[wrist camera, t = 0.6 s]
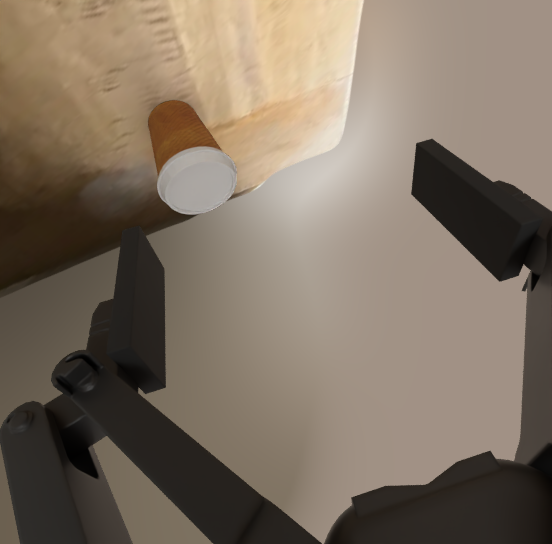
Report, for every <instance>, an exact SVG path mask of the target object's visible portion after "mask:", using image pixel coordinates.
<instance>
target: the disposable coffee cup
mask: <svg viewBox="0 0 552 544" xmlns="http://www.w3.org/2000/svg"><path fill="white" fill-rule="evenodd" d="M148 126H149V130H150V136H151V141H152V147H153V151H154V157H155V162H156V167H157V172H158V181H157V189H158V193H159V195H160V197H161V199H162V200H163V201H164V202H165V203H167V204H168V205H169V206H170V207H171V208H172V209H173V210H175V211H177V212H179V213H183V214H201V213H205V212H208V211H211V210H213V209H215V208H217V207H219V206H220V205H222V204H223V203H224V202H226V201H227V200H228V199H229V198H230V197H231V195H232V194H233V192H234V190H235V187H236V183H237V179H236V176H237V170H236V166H235V163H234V162H233V160H232V159H231V158H230V157H229V156H228V155H227V154H225V153H224V152H223V151H222V150H221V148H220V147H219V145H218V144H217V143H216V141H215V140H214V138H213V137H212V135H211V134H210V132H209V131H208V130H207V128H206V127H205V125H204V124H203V123H202V121H201V120H200V118H199V117H198V115H197V114H196V112H195V111H194V109H193V108H192V107H191V106H190V105H188V104H187V103H185V102H182V101H176V100H172V101H167V102H164V103H162V104H160V105H158V106H157V107H156V108H155V109H154V110H153V111H152V112H151V114H150V116H149V120H148Z"/></svg>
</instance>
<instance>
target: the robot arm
mask: <svg viewBox="0 0 552 544" xmlns="http://www.w3.org/2000/svg"><path fill="white" fill-rule="evenodd" d="M411 194H412V195H413V196H414V197H415V198H416V199H417V200H418V201H419V202H420V203H421V204H422V205H423V206H424V207H425V208H426V209H427V210H428V211H429V212H430V213H431V214H432V215H433V216H434V217H435V218H436V219H437V220H438V221H439V222H440V223H441V224H442V225H443V226H444V227H445V228H446V229H447V230H448V231H449V232H450V233H451V234H452V235H453V236H454V237H455V238H456V239H457V240H458V241H459V242H460V243H461V244H462V245H463V246H464V247H465V248H466V249H467V250H468V251H469V252H470V253H471V254H472V255H473V256H474V257H475V258H476V259H477V260H478V261H479V262H480V263H481V264H482V265H483V266H484V267H485V268H486V269H487V270H488V271H489V272H490V273H492V275H493V276H494V277H495V278H496V279H497V280H499V281H503V280H507V279H510V278H513V277H516V276H519V273H520V271H521V269H522V266H523V264H524V265H525V266H526V267H527V268H529V269H530V270H531V271H530V273H529V275H528V278H527V280H526V282H525V284H524V286H523V289H522V291H526V288H527V306H526V328H525V329H526V330H525V351H524V371H523V372H524V373H523V392H522V415H521V435H520V442H519V445H518V448H517V451H516V455H515V460H514V461H510V460H503V459H495V457H494V456H493V454H492V453H491V451H488V452H485V453H482V454H479V455H476V456H473V457H470V458H467V459H465V460H461V461H458V462H456V463H455V464H454V465H452V466H451V467H450V468H448V469H447V470H446V471H444V472H443V473H442V474H441V475H439V476H438V477H437V478H435V479H434V480H433V481H431V482H430V483H429V484H426V485H406V486H384V487H381V488H378V489H376V490H372V491H369V492H367V493H363V494H360V495H357V496H355V497H352V498H351V499H352V506H350V507H349V508H348V509H347V510H345V511H344V512H343V513H342V514H341V515H340V516H339V518H338V519H337V520H336V522H335V523H334V524H333V526H332V528H331V530H330V532H329V533H328V535H327V538H326V540H325V543H324V544H552V211H550V210H549V209H547V208H546V207H544V206H543V205H541V204H540V203H538V202H537V201H535V200H534V199H531V197H530V196H528V195H527V194H525V193H524V194H523V192H522V191H521V190H519V189H518V188H516V187H515V186H513V185H511V184H508V183H505V182H502V181H496V182H492V181H491V180H489V179H488V178H486V177H485V176H483V175H482V174H481V173H479V172H478V171H476V170H475V169H474V168H472V167H471V166H469V165H468V164H467V163H465V162H464V161H463V160H461V159H459V158H458V157H457V156H455V155H454V154H453V153H451V152H450V151H448V150H447V149H445V148H444V147H443V146H441V145H440V144H439V143H437V142H436V141H434V140H433V139H430V140H426V141H423V142H419V143H417V144H416V152H415V162H414V172H413V183H412V192H411ZM164 285H165V284H164V267H163V266H162V264H161V262H160V260H159V259H158V257H157V255H156V254H155V252H154V250H153V248H152V247H151V245H150V243H149V241H148V240H147V238H146V236H145V234H144V233H143V231H142V229H141V228H140V226H136V227H133V228H130V229H126V230H123V231H122V239H121V246H120V254H119V261H118V269H117V276H116V284H115V292H114V299H111V300H108V301H104V302H101V303H99V305H98V307H97V308H96V310H95V312H94V313H93V316H92V321H91V328H90V332H89V335H90V336H89V338H88V343H87V349H86V350H78V351H75V352H73V353H71V354H69V355H67V356H66V357H65V358H63V359H62V360H61V361H60V362H59V363H58V364H57V365H56V367H55V369H54V371H53V373H52V378H51V381H52V383H53V386H54V387H55V388H57V389H58V390H59V391H61V392H62V393H63V394H62V395H60V396H58V397H57V398H55V399H54V400H52V401H50V402H48V403H47V404H45V405H42V404H41V403H39V402H35V401H32V402H27V403H24V404H23V405H21V406H19V407H17V408H16V409H15V410H14V411H12V412H11V413H10V414H9V415H8V417H7V418H6V419H5V421H4V422H3V424H2V426H1V429H0V444H1V449H2V454H3V458H4V464H5V469H6V474H7V479H8V484H9V489H10V494H11V499H12V504H13V510H14V515H15V520H16V524H17V530H18V535H19V539H20V544H133V543H132V541H131V538H130V536H129V533H128V531H127V528H126V526H125V524H124V521H123V519H122V516H121V514H120V512H119V509H118V506H117V504H116V502H115V499H114V497H113V494H112V492H111V489H110V487H109V485H108V482H107V480H106V477H105V475H104V472H103V470H102V468H101V465H100V462H99V460H98V458H97V455H96V453H95V450H94V448H93V444H95V443H96V442H98V441H99V440H101V439H102V438H104V437H105V436H108V437H109V438H110V439H111V440H112V441H113V442H114V443H115V444H116V446H118V448H120V449H121V451H122V452H123V453H124V454H125V455H126V456H127V457H128V458H129V459H130V460H131V461H132V462H133V463H134V464H135V465H136V466H137V467H138V468H139V469H140V470H141V471H142V472H143V473H144V474H145V475H146V476H147V477H148V478H149V479H150V480H151V481H152V482H153V483H154V484H155V485H156V486H157V487H158V488H159V489H160V490H161V491H162V492H163V493H164V494H165V495H166V496H167V497H168V498H169V499H170V500H171V501H172V502H173V503H174V504H175V505H176V506H177V507H178V508H179V509H180V510H181V511H182V512H183V513H184V514H185V515H186V516H187V517H188V518H189V519H190V520H191V521H192V522H193V523H194V525H195V526H196V527H197V528H199V529H200V531H201V532H202V533H203V534H204V535H205V536H206V537H207V538H208V539H209V540H210V541H211V542H212V543H213V544H322V543H321V542H319V541H318V540H317V539H316V538H315V537H313V536H312V535H311V534H310V533H308V532H307V531H306V530H305V529H304V528H302V527H301V526H300V525H299V524H298V523H296V522H295V521H294V520H293V519H292V518H290V517H289V516H288V515H287V514H285V513H284V512H283V511H282V510H281V509H279V508H278V507H277V506H276V505H274V504H273V503H272V502H270V501H269V500H267V499H266V498H264V497H263V496H261V495H260V494H259V493H258V492H257V491H255V490H254V489H253V488H252V487H250V486H249V485H248V484H247V483H246V482H244V481H243V480H242V479H241V478H240V477H238V476H237V475H236V474H235V473H234V472H232V471H231V470H230V469H229V468H228V467H226V466H225V465H224V464H223V463H222V462H220V461H219V460H218V459H216V457H214V456H213V455H212V454H211V453H210V452H208V451H207V450H206V449H205V448H203V447H202V446H201V445H200V444H199V443H197V442H196V441H195V440H194V439H193V438H191V437H190V436H189V435H188V434H187V433H185V432H184V431H183V430H182V429H181V428H179V427H178V426H177V425H176V424H174V423H173V422H172V421H171V420H170V419H168V418H167V417H166V416H165V415H163V414H162V413H161V412H160V411H159V410H158V409H156V408H155V407H154V406H153V405H151V404H150V403H149V402H148V401H147V400H146V399H144V398H143V397H142V396H141V395H140V394H138V387H139V388H140V389H141V390H142V391H143V392H144V393H145V394H147V393H150V392H153V391H156V390H160V389H163V388H165V387H166V377H165V375H166V374H165V373H166V372H165V289H164V288H165V286H164Z"/></svg>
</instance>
